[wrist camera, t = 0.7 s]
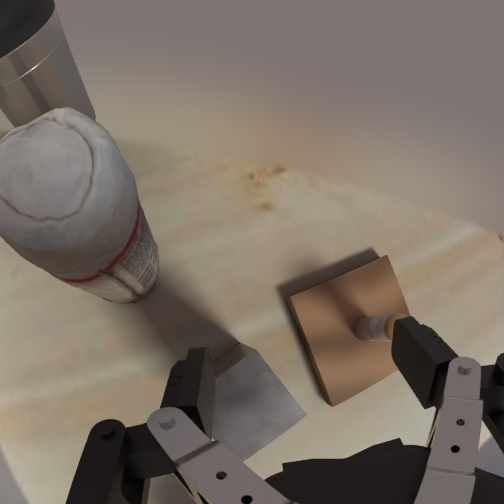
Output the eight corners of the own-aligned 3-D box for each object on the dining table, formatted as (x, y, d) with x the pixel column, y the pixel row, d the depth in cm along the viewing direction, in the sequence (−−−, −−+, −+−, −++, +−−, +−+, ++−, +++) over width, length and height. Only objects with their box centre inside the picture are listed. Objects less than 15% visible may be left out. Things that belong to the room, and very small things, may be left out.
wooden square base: (286, 298, 32) (312, 288, 24) (380, 257, 34) (422, 238, 26) (327, 403, 30) (363, 423, 22) (414, 352, 32) (461, 355, 24)
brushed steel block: (189, 377, 29) (182, 401, 19) (239, 342, 30) (255, 349, 20) (227, 424, 28) (237, 464, 18) (276, 389, 29) (307, 414, 20)
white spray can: (107, 209, 31) (22, 83, 12) (176, 238, 31) (143, 113, 12) (73, 283, 29) (-61, 223, 10) (142, 317, 29) (45, 298, 10)
